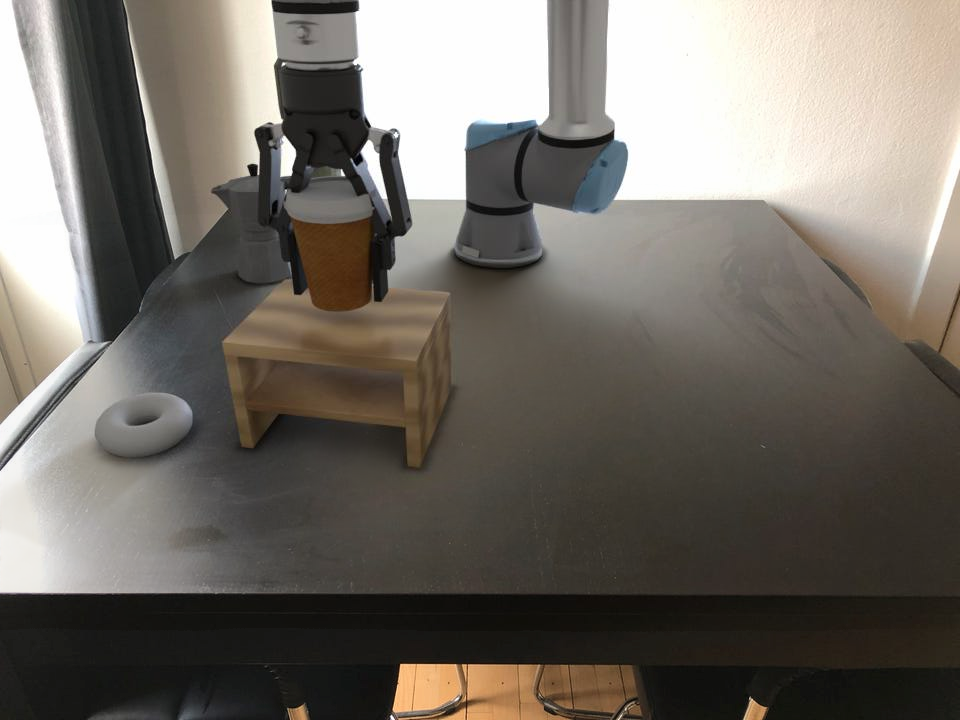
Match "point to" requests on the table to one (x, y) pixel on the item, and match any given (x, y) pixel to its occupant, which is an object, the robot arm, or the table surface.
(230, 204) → the coffeepot
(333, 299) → the disposable coffee cup
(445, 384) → the shelf
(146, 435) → the donut
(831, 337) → the table surface
